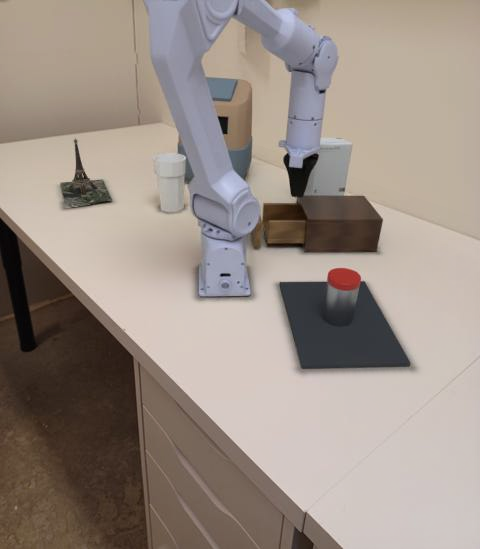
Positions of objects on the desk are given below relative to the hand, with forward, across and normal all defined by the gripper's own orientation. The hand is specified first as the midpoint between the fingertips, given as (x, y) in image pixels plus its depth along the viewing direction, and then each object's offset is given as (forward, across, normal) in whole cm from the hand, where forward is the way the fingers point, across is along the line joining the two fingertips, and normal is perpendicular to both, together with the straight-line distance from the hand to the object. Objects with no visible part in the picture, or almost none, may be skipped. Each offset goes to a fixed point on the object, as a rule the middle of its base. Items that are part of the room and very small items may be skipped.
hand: (297, 195), depth 84 cm
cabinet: (+10, -5, +7) cm, 13 cm away
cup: (+10, -10, -28) cm, 31 cm away
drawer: (+9, -2, -4) cm, 10 cm away
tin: (+9, +22, +10) cm, 26 cm away
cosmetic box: (+10, -21, +3) cm, 23 cm away
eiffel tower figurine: (+10, -11, -49) cm, 52 cm away
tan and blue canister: (+10, -32, -25) cm, 42 cm away
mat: (+10, +22, +10) cm, 26 cm away
